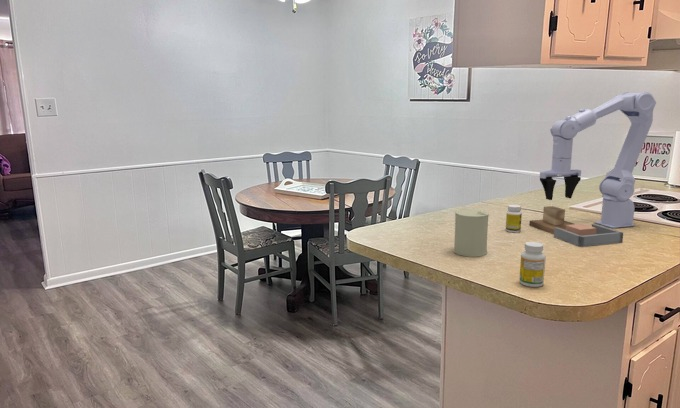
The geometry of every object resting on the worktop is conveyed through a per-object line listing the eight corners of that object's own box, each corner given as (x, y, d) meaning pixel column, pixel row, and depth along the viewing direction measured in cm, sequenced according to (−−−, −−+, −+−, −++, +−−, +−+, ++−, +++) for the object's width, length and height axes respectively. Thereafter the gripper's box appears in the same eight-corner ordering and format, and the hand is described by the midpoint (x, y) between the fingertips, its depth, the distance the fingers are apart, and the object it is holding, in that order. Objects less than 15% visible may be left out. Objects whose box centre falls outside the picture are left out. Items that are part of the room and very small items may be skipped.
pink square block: (581, 232, 156) (582, 223, 156) (595, 237, 151) (596, 228, 150) (565, 234, 155) (566, 225, 154) (579, 239, 149) (580, 229, 149)
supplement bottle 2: (539, 289, 112) (542, 248, 110) (515, 284, 115) (518, 244, 113) (546, 282, 116) (549, 243, 114) (524, 277, 119) (526, 239, 117)
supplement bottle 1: (521, 233, 159) (523, 207, 157) (506, 232, 160) (507, 207, 158) (519, 229, 163) (521, 204, 162) (504, 228, 164) (506, 204, 163)
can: (481, 259, 134) (483, 215, 131) (448, 253, 138) (450, 212, 136) (490, 250, 141) (493, 209, 139) (459, 245, 146) (461, 206, 144)
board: (556, 222, 171) (556, 218, 171) (586, 232, 158) (586, 227, 158) (529, 225, 168) (529, 220, 168) (557, 235, 155) (557, 230, 155)
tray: (593, 232, 158) (594, 223, 157) (622, 242, 147) (623, 232, 146) (553, 236, 154) (554, 227, 153) (580, 247, 143) (581, 237, 142)
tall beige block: (551, 220, 168) (552, 205, 167) (563, 224, 162) (565, 209, 161) (542, 221, 167) (543, 206, 166) (554, 225, 161) (555, 210, 160)
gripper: (571, 155, 166) (568, 195, 168) (534, 157, 162) (532, 198, 165) (587, 157, 159) (583, 198, 162) (549, 159, 155) (546, 202, 158)
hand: (558, 198), depth 163 cm, fingers open, 7 cm apart
